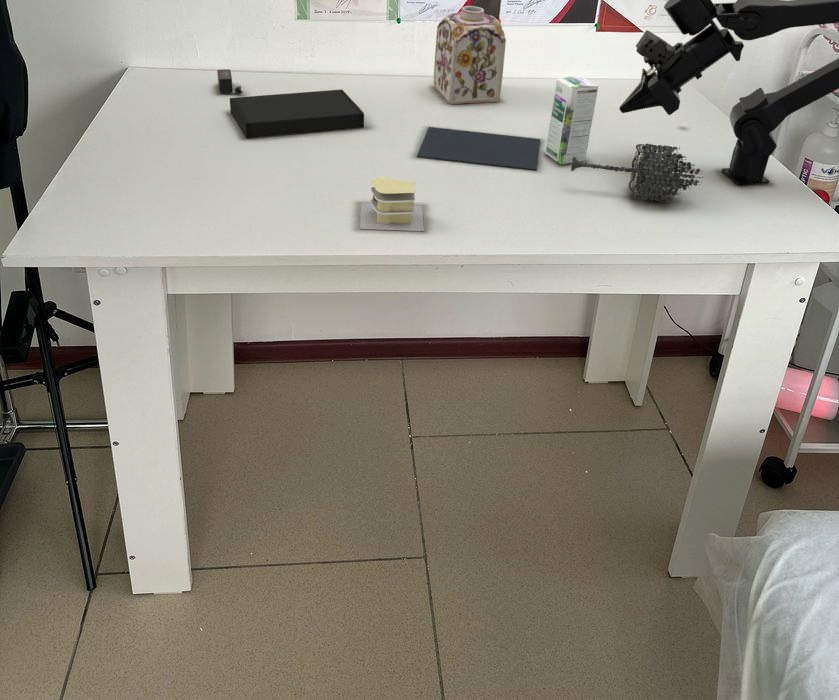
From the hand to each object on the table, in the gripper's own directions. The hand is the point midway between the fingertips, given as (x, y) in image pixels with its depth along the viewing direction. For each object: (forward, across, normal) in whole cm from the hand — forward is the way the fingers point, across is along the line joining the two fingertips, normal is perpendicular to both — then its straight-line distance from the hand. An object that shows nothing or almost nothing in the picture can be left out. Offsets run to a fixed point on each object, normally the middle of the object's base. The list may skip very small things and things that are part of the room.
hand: (620, 110), depth 163 cm
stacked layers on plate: (+33, +33, -18) cm, 50 cm away
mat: (+25, 0, -10) cm, 27 cm away
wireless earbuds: (+64, -16, -48) cm, 82 cm away
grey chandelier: (+5, +14, +10) cm, 18 cm away
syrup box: (+13, 0, +1) cm, 13 cm away
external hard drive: (+51, -4, -36) cm, 62 cm away
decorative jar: (+29, -30, -14) cm, 44 cm away
